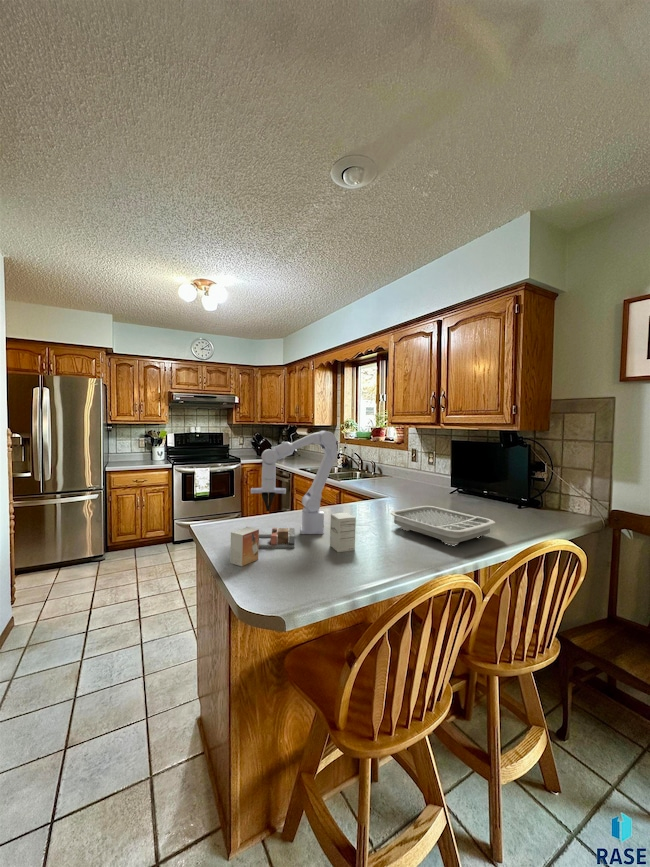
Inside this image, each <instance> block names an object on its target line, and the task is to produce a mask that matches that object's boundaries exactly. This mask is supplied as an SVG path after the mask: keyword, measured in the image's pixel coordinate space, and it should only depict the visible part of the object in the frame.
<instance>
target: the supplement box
mask: <svg viewBox="0 0 650 867" xmlns="http://www.w3.org/2000/svg"><path fill="white" fill-rule="evenodd" d="M356 521H357V519H356V516H354V515H352V514H350V513H349V512H338V513H337V512H336V513H330V529H329V530H330V533H329V534H330V535H329V538H330V539H329V546H330V547H331V548H332V549H333V550H335V551H336V552H337V553H344V552H352V551H355V550H356V524H357V522H356Z"/></svg>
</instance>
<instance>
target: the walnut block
mask: <svg viewBox="0 0 650 867" xmlns="http://www.w3.org/2000/svg"><path fill="white" fill-rule="evenodd" d="M277 528H278V545H288V529H289V528H288V527H285V528H284V527H283V528H281V527H280V528H279V527H277Z"/></svg>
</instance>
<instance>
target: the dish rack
mask: <svg viewBox="0 0 650 867" xmlns="http://www.w3.org/2000/svg"><path fill="white" fill-rule="evenodd" d="M390 515H391V516H393V523H394V524H395V525H397V526H398V527H400V529H401V530H402V529H403V530H402V531H405V530H406V532H409V531H410V530H411V531H413V532H417V533H419V534H422V535H426V536H429V537H433V538H435V539H438V540H441V543H443V542H444V543H447V544H450V545H455V544H459V543H461V542H465V541H469V540H472V539H475V538H477V537H479V536H481V537H482V536H484V535H488V534H490V533H491V526H494V525H495V524H496V521H494V520H493V519H490V518H487V517H482V516H477V515H472V514H468V513H464V512H461V511H460V512H459V511H455V510H451V509H447V508H443V507H437V506H432V505H420V506H413V507H409V508H402V509H396V510H393V511H392V510H391V512H390Z"/></svg>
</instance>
